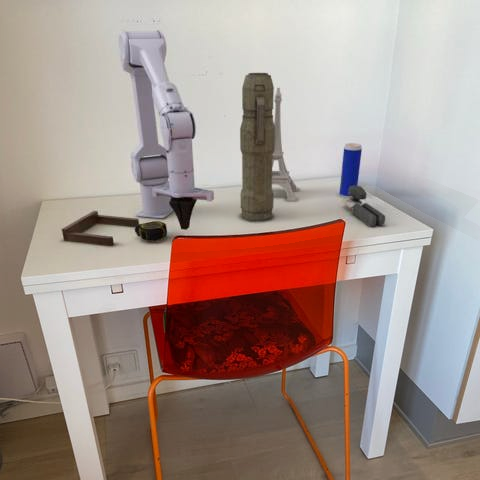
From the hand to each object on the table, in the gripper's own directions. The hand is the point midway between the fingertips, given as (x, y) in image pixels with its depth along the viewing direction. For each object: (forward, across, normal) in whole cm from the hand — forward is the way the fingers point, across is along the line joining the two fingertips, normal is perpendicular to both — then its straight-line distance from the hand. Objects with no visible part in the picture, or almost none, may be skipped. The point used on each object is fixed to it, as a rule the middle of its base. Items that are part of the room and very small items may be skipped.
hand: (185, 228), depth 112 cm
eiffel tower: (+4, +12, +44) cm, 46 cm away
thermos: (+4, +12, +22) cm, 26 cm away
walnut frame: (+3, -22, 0) cm, 23 cm away
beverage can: (+4, +34, +48) cm, 59 cm away
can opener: (+4, +39, +31) cm, 50 cm away
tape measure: (+4, -9, 0) cm, 10 cm away
